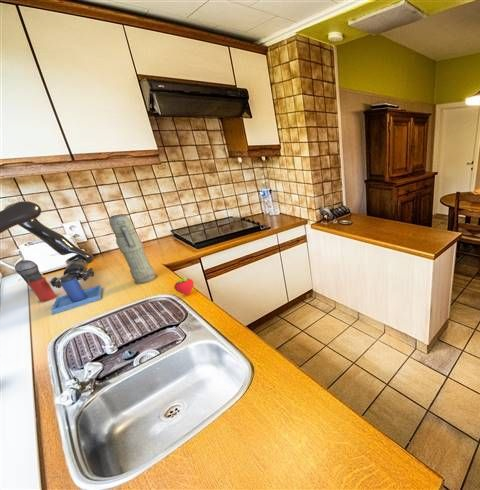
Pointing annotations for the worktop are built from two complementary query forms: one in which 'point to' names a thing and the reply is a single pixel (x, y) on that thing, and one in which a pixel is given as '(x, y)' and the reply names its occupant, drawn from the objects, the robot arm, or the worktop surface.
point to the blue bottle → (73, 288)
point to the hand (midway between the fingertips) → (71, 282)
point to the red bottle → (41, 288)
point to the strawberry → (184, 286)
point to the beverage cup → (26, 269)
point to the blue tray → (65, 302)
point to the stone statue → (131, 249)
